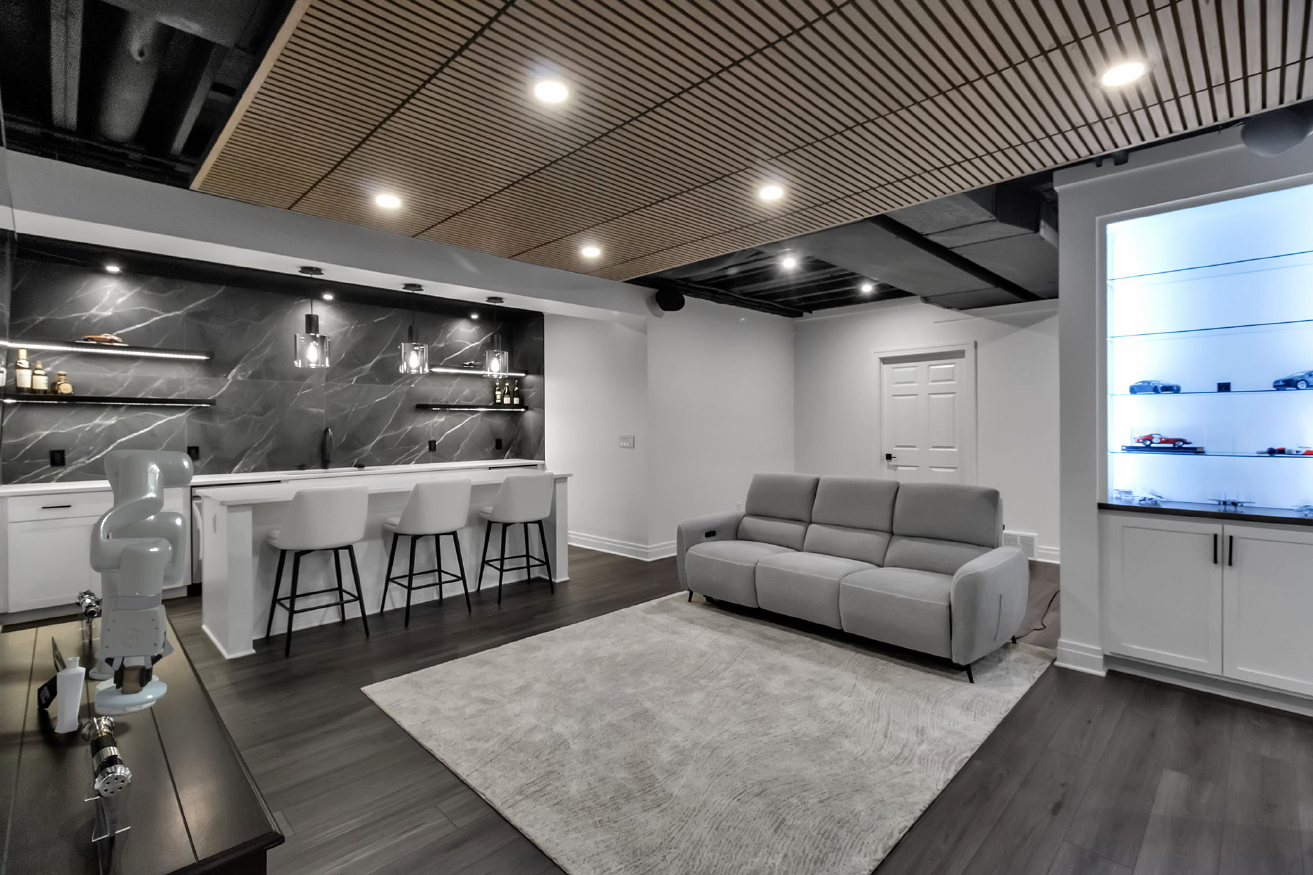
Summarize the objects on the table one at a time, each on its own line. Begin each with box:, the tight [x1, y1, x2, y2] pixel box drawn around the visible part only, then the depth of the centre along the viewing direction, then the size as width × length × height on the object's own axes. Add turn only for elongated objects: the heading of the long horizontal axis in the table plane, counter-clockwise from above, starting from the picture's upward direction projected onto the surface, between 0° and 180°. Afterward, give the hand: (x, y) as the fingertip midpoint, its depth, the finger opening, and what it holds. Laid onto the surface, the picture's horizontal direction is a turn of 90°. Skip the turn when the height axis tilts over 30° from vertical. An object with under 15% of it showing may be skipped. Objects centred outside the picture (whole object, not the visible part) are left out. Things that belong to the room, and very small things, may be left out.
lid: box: [94, 665, 168, 708], centre depth 137 cm, size 12×12×6 cm
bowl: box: [93, 674, 160, 717], centre depth 148 cm, size 11×11×6 cm
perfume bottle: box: [54, 656, 86, 734], centre depth 136 cm, size 5×4×15 cm
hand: (132, 685), depth 137 cm, fingers closed on lid, 3 cm apart
